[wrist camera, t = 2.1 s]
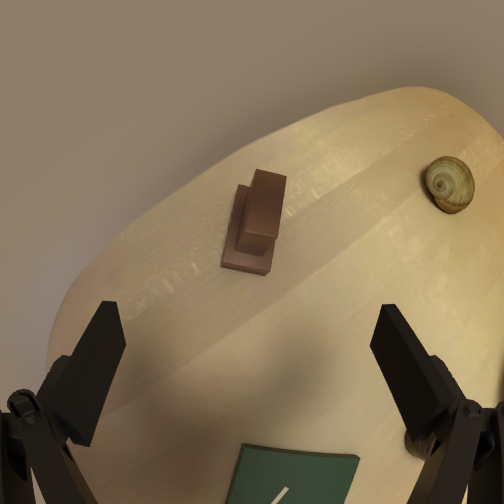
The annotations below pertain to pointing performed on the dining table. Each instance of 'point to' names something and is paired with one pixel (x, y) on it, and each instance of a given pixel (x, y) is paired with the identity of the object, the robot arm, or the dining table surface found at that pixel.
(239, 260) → the duster
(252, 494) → the chalkboard
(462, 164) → the seashell
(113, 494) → the dining table surface
